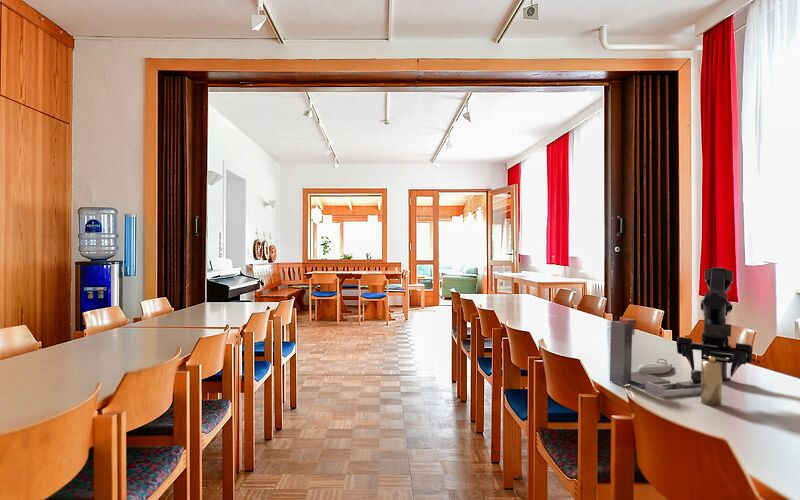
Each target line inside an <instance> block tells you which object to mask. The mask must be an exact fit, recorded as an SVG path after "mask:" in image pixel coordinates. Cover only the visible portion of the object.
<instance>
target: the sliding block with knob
mask: <svg viewBox="0 0 800 500" xmlns="http://www.w3.org/2000/svg"><path fill="white" fill-rule="evenodd" d="M701 371H702V370H699V369H698V370H697V369H694V371H692V369H691V370H690V380H689V381H680V382H679V381H678V382H677V381H676V382H675V383H676V389H686V388H696V387H701ZM676 389H675V390H676Z"/></svg>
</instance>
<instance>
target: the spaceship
mask: <svg viewBox="0 0 800 500" xmlns="http://www.w3.org/2000/svg"><path fill="white" fill-rule="evenodd" d="M659 361H660V362H659ZM663 361H664V362H663ZM672 368H673V363H668V362H667V359H664V358H659V359H657V361H656V362H654V363H643V364H642V363H641V364H639V366H638V367H637V372H644V373H647V374H650V375H659V374H660V375H661V374H666V373H668V372H669V371H672Z"/></svg>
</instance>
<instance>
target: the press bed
mask: <svg viewBox="0 0 800 500" xmlns="http://www.w3.org/2000/svg"><path fill="white" fill-rule="evenodd" d="M636 329H637V319H633V318H630V317H629V318H627V317H625V318H620V320H613V321H612V320H611V321H610V350H609V351H610V353H609V354H610V355H609V358H610V359H609V382H610V381H612V382H611V383H613V382H614V383H613V384H615V383H617V384H616V385H618V384H620V385H623V386H624V385H626V384H630V386H629V387H631V386H633V387H636V388H639V389H645V384H646V382H651V383H654V384H668V383H671V380H668V379H665V378H662V377H658V376H657V375H656V376H655V375H654V374H647V373H644V372H639V371H632V360H633V359H632V352H633V351H632V350H633V349H632V348H633V347H632V346H633V336H634V335H635V330H636ZM620 385H619V386H620ZM623 386H622V387H623Z"/></svg>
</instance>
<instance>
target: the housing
mask: <svg viewBox="0 0 800 500" xmlns="http://www.w3.org/2000/svg"><path fill="white" fill-rule="evenodd" d="M715 358H716V357H713V356H709V360H701V370H700V371H701V394H700V404H703V405H706V406H708V407H715V408H716V407H722V403H723V402H722V401H723V399H722V398H723V381H722V367H723V363H721V362H718V361H715Z"/></svg>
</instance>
